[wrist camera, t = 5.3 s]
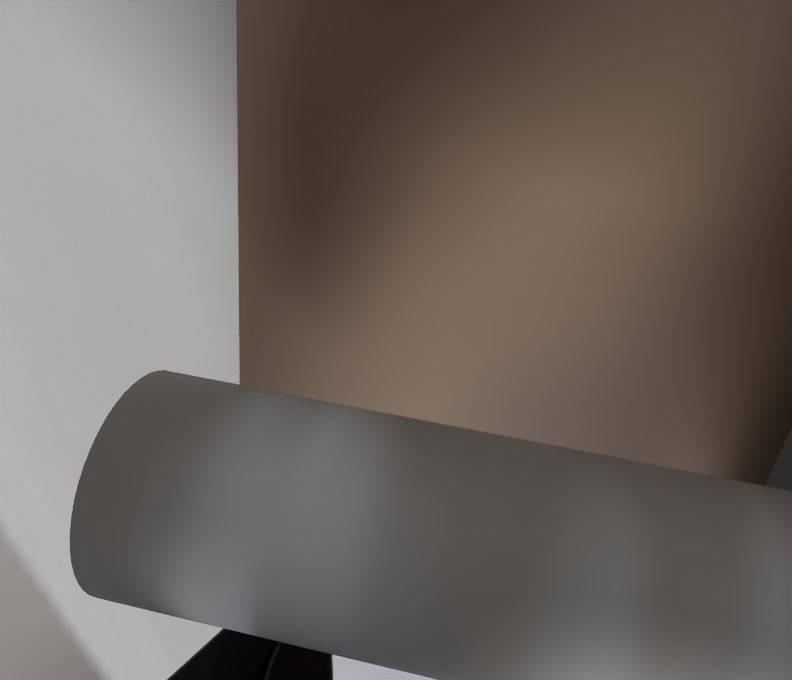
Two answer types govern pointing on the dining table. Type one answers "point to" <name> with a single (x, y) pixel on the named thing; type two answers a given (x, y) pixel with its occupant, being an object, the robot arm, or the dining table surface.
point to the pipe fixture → (486, 349)
